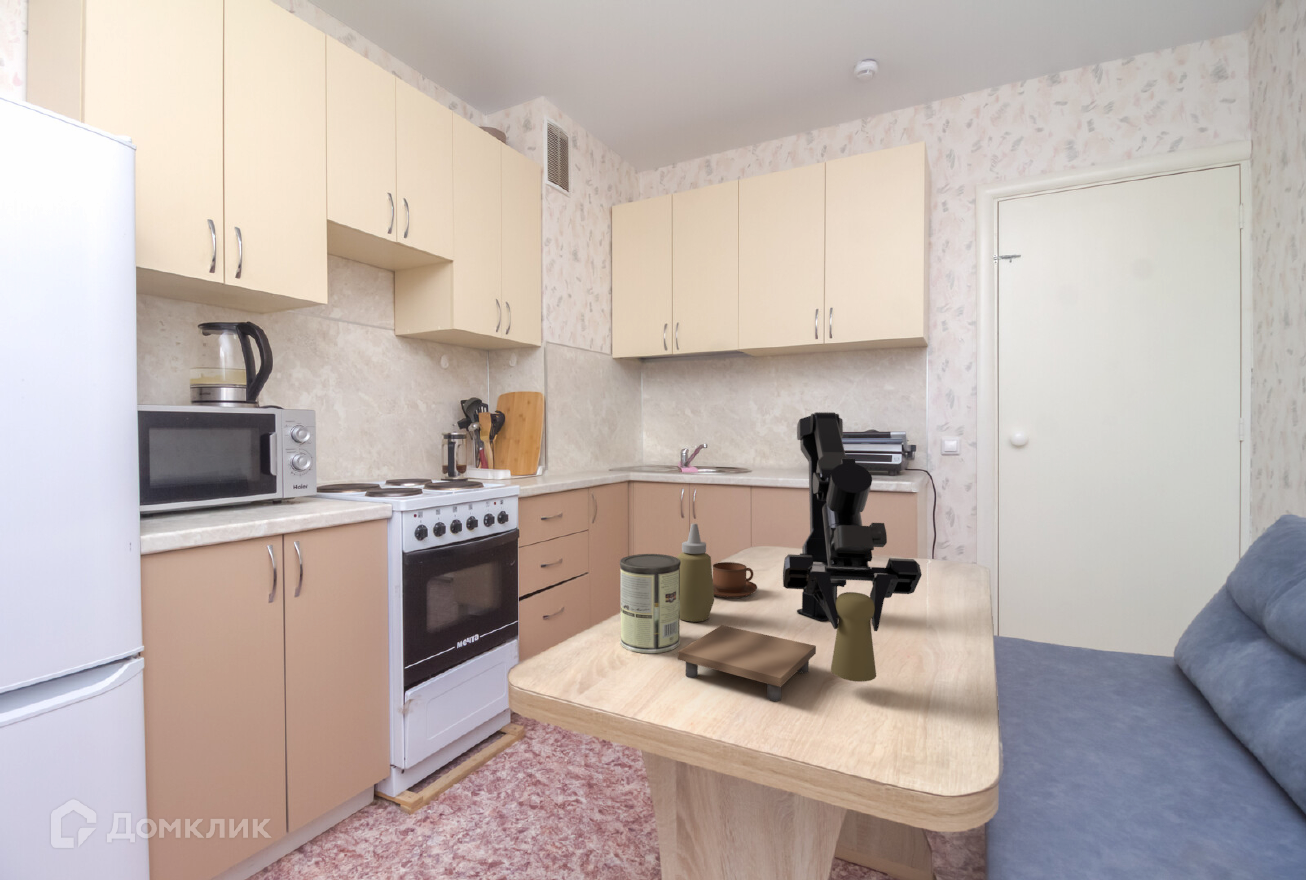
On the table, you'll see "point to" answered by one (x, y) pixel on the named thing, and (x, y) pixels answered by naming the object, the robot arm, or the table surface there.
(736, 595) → the cup and saucer
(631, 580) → the coffee can
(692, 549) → the squeeze bottle
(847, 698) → the table surface
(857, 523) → the robot arm
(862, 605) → the olive pepper shaker
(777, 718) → the table surface
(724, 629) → the small wooden stand
